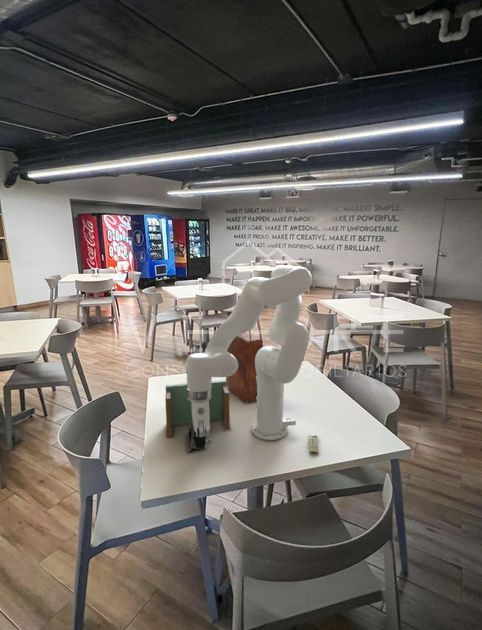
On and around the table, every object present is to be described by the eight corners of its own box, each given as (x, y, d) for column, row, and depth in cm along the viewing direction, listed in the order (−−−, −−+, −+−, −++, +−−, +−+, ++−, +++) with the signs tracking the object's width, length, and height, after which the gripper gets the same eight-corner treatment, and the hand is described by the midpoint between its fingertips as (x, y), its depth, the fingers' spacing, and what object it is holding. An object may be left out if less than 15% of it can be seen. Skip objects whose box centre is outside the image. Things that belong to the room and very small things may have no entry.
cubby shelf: (226, 417, 130) (225, 380, 127) (229, 429, 122) (229, 389, 119) (167, 424, 125) (165, 385, 122) (167, 437, 116) (165, 395, 113)
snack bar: (319, 452, 108) (310, 448, 108) (317, 456, 108) (308, 452, 108) (317, 435, 117) (309, 432, 117) (315, 438, 118) (308, 435, 118)
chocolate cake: (210, 453, 108) (215, 416, 115) (189, 450, 106) (194, 413, 113) (203, 458, 116) (207, 423, 122) (183, 456, 114) (188, 421, 120)
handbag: (245, 404, 141) (246, 323, 134) (225, 387, 158) (225, 315, 150) (266, 398, 147) (268, 321, 140) (245, 383, 163) (245, 312, 156)
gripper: (214, 402, 98) (214, 457, 102) (208, 382, 112) (209, 431, 116) (188, 404, 96) (189, 461, 100) (186, 384, 111) (187, 434, 114)
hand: (200, 445), depth 108 cm, fingers closed
